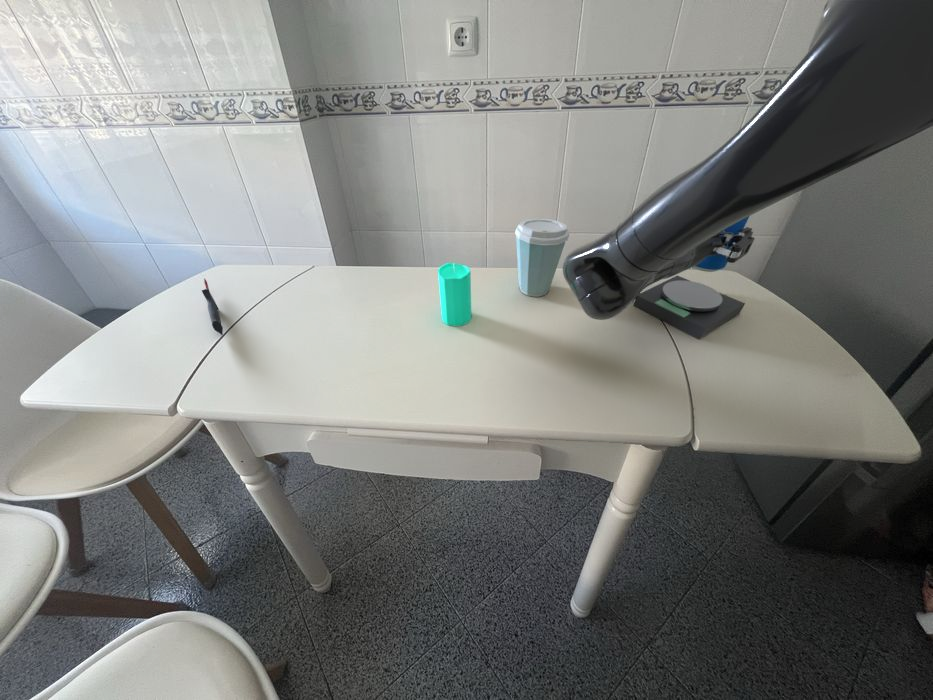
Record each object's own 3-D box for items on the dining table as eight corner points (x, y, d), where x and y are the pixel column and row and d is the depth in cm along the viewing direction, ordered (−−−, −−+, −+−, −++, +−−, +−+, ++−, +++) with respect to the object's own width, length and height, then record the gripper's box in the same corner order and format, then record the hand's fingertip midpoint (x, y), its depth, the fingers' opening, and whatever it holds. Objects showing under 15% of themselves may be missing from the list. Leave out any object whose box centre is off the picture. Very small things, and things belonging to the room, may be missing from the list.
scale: (699, 339, 66) (705, 327, 64) (633, 305, 75) (636, 294, 73) (739, 314, 71) (745, 302, 70) (673, 285, 80) (677, 274, 79)
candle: (437, 313, 74) (432, 259, 66) (463, 306, 76) (461, 252, 68) (448, 329, 70) (444, 273, 62) (476, 321, 72) (476, 265, 64)
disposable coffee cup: (511, 277, 85) (515, 213, 75) (557, 278, 84) (568, 213, 74) (511, 301, 77) (515, 232, 67) (562, 303, 76) (574, 233, 66)
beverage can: (720, 277, 63) (754, 206, 55) (680, 267, 66) (707, 199, 58) (726, 263, 67) (759, 195, 59) (688, 255, 70) (714, 189, 62)
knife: (227, 336, 70) (215, 314, 67) (219, 339, 69) (206, 317, 66) (213, 286, 85) (202, 267, 82) (206, 288, 85) (195, 269, 81)
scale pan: (701, 282, 75) (702, 278, 75) (733, 309, 67) (735, 306, 67) (652, 285, 75) (653, 281, 74) (678, 313, 67) (679, 309, 66)
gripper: (727, 242, 49) (784, 217, 56) (636, 213, 58) (694, 194, 65) (705, 291, 54) (759, 262, 61) (624, 257, 63) (679, 235, 70)
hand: (725, 227), depth 63 cm, fingers closed on beverage can, 6 cm apart
